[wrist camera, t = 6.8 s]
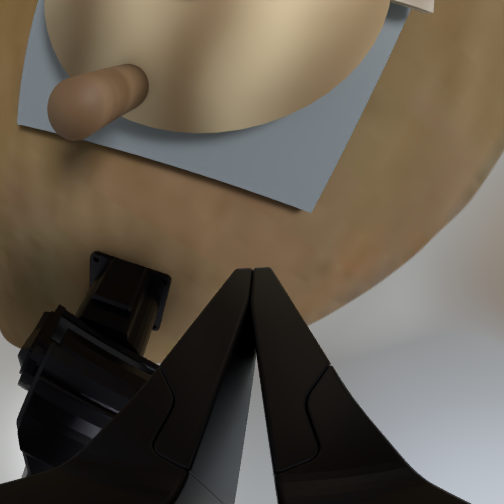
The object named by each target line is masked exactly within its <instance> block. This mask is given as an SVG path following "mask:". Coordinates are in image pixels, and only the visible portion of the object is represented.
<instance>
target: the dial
mask: <svg viewBox="0 0 504 504" xmlns="http://www.w3.org/2000/svg"><path fill="white" fill-rule="evenodd" d="M390 2H392V3H395V4H398V5H402V6H405V7H408V8H411V9H414V10H417V11H420V12H423V13H426V14H428V13H433V9H434V0H44V11H45V20H46V26H47V31H48V35H49V38H50V41H51V44H52V47H53V49H54V51H55V53H56V55H57V58H58V60H59V62H60V63H61V65H62V66H63V68H64V69H65V71H66V72H67V74H68V75H69V77H70V78H67V79H65V80H63V81H61V82H60V83H58V84H57V85H56V86H55V88H54V89H53V90H52V92H51V94H50V96H49V100H48V105H47V114H48V119H49V122H50V124H51V126H52V128H53V129H54V131H55V132H56V133H57V134H58V135H59V136H61V137H62V138H64V139H66V140H70V141H80V140H83V139H85V138H87V137H89V136H90V135H92V134H93V133H95V132H96V131H98V130H99V129H101V128H103V127H104V126H106V125H107V124H109V123H111V122H112V121H114V120H116V119H117V118H119V117H121V116H122V117H124V118H126V119H128V120H130V121H133V122H136V123H139V124H142V125H146V126H149V127H152V128H157V129H163V130H168V131H173V132H186V133H219V132H226V131H234V130H241V129H245V128H249V127H254V126H258V125H262V124H266V123H268V122H271V121H274V120H277V119H279V118H282V117H285V116H288V115H290V114H292V113H294V112H296V111H298V110H300V109H302V108H304V107H306V106H308V105H310V104H311V103H313V102H314V101H316V100H318V99H319V98H321V97H322V96H324V95H326V94H327V93H329V92H330V91H331V90H332V89H333V88H335V87H336V86H337V85H338V84H340V83H341V82H342V81H343V80H344V79H346V78H347V77H348V75H349V74H350V73H351V72H352V71H353V70H354V69H355V68H356V67H357V66H358V65H359V64H360V63H361V62H362V60H363V59H364V57H365V56H366V55H367V53H368V52H369V50H370V49H371V48H372V46H373V45H374V43H375V41H376V39H377V37H378V35H379V33H380V31H381V29H382V27H383V24H384V21H385V18H386V15H387V12H388V9H389V4H390Z"/></svg>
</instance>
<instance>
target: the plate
mask: <svg viewBox="0 0 504 504" xmlns="http://www.w3.org/2000/svg"><path fill="white" fill-rule="evenodd" d="M410 10H411V8H408V7H405V6H402V5H398V4H395V3H392V2H390V4H389V9H388V12H387V15H386V18H385V21H384V24H383V27H382V29H381V31H380V33H379V35H378V37H377V39H376V41H375V43H374V45H373V46H372V48H371V49H370V50H369V52H368V53H367V55H366V56H365V57H364V59H363V60H362V62H361V63H360V64H359V65H358V66H357V67H356V68H355V69H354V70H353V71H352V72H351V73H350V74H349V75H348V77H347V78H346V79H344V80H343V81H342V82H341V83H340V84H338V85H337V86H336V87H335V88H333V89H332V90H331V91H330V92H329V93H327V94H326V95H324V96H322V97H321V98H319V99H318V100H316V101H314V102H313V103H311V104H310V105H308V106H306V107H304V108H302V109H300V110H298V111H296V112H294V113H292V114H290V115H288V116H285V117H282V118H279V119H277V120H274V121H271V122H268V123H266V124H262V125H258V126H254V127H249V128H245V129H241V130H234V131H226V132H219V133H186V132H173V131H168V130H163V129H157V128H152V127H149V126H146V125H142V124H139V123H136V122H133V121H130V120H128V119H126V118H124V117H122V116H121V117H119V118H117V119H116V120H114V121H112V122H111V123H109V124H107V125H106V126H104V127H103V128H101V129H99V130H98V131H96V132H95V133H93V134H92V135H90V136H89V137H87V138H85V139H83V140H84V141H88V142H92V143H96V144H99V145H103V146H107V147H110V148H114V149H117V150H121V151H124V152H128V153H131V154H135V155H138V156H142V157H145V158H149V159H152V160H155V161H159V162H162V163H165V164H168V165H172V166H175V167H178V168H181V169H185V170H188V171H191V172H194V173H197V174H200V175H203V176H206V177H210V178H213V179H216V180H219V181H222V182H225V183H228V184H231V185H234V186H237V187H240V188H243V189H245V190H248V191H251V192H254V193H257V194H260V195H263V196H266V197H268V198H271V199H274V200H277V201H280V202H282V203H285V204H288V205H291V206H294V207H296V208H299V209H302V210H304V211H307V212H310V213H311V212H312V210H313V209H314V207H315V205H316V203H317V201H318V199H319V197H320V195H321V193H322V191H323V189H324V188H325V186H326V184H327V182H328V180H329V178H330V176H331V174H332V172H333V170H334V168H335V166H336V164H337V162H338V160H339V158H340V156H341V154H342V152H343V150H344V148H345V146H346V144H347V142H348V140H349V138H350V136H351V134H352V132H353V130H354V128H355V126H356V124H357V122H358V120H359V118H360V116H361V114H362V112H363V110H364V108H365V106H366V104H367V102H368V100H369V98H370V96H371V94H372V92H373V90H374V87H375V85H376V83H377V81H378V79H379V77H380V75H381V73H382V71H383V69H384V67H385V64H386V62H387V60H388V58H389V56H390V54H391V52H392V49H393V47H394V45H395V43H396V41H397V39H398V36H399V34H400V32H401V30H402V28H403V25H404V23H405V21H406V19H407V17H408V14H409V12H410ZM67 78H70V77H69V75H68V74H67V72H66V71H65V69H64V68H63V66H62V65H61V63H60V62H59V60H58V58H57V55H56V53H55V51H54V49H53V47H52V44H51V41H50V38H49V35H48V31H47V26H46V20H45V11H44V0H38V4H37V7H36V11H35V15H34V19H33V23H32V27H31V31H30V36H29V40H28V45H27V50H26V56H25V61H24V67H23V74H22V81H21V88H20V97H19V107H18V118H17V124H19V125H24V126H28V127H32V128H37V129H41V130H45V131H49V132H53V133H56V132H55V131H54V129H53V128H52V126H51V124H50V122H49V119H48V114H47V105H48V100H49V96H50V94H51V92H52V90H53V89H54V88H55V86H56V85H57V84H58V83H60V82H61V81H63V80H65V79H67Z"/></svg>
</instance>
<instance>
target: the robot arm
mask: <svg viewBox="0 0 504 504" xmlns="http://www.w3.org/2000/svg"><path fill="white" fill-rule="evenodd" d="M96 257H97V258H98V259H97V258H96ZM163 280H165V281H163ZM170 284H171V277H170V276H169V275H167V274H164V273H161V272H158V271H155V270H152V269H149V268H146V267H143V266H140V265H137V264H134V263H131V262H128V261H125V260H122V259H119V258H116V257H113V256H110V255H107V254H104V253H101V252H98V251H95V252H93V254H92V255H91V258H90V289H89V291H88V292H87V294H86V296H85V298H84V300H83V301H82V303H81V305H80V307H79V309H78V311H77V313H76V315H75V316H74V315H73V314H71V313H70V312H68V311H67V310H65V309H66V308H65V307H63V306H62V305H60V304H59V306H58V307H57V309H56V311H55V312H53V311H52V312H44V314H43V316H42V317H41V319H40V321H39V323H38V324H37V326H36V328H35V329H34V331H33V332H32V334H31V335H30V337H29V338H28V339H27V341H26V342H25V344H24V345H23V347H22V348H21V350H20V352H19V354H18V359H19V362H20V365H21V370H20V372H19V373H20V374H22V375H21V377H20V380H19V382H18V385H19V386H21V387H22V388H24V389H25V390H27V391H28V393H27V396H26V398H25V401H24V403H23V405H22V408H21V410H20V413H19V415H18V418H17V429H18V439H19V445H20V450H21V451H22V452H23V456H24V460H25V464H26V466H25V469H24V472H23V475H22V478H21V479H17V480H14V481H10V482H6V483H3V484H0V504H234V503H235V496H236V490H237V484H238V477H239V471H240V464H241V457H242V451H243V444H244V438H245V431H246V424H247V417H248V410H249V404H250V396H251V389H252V383H253V376H254V369H255V360H256V355H257V362H258V370H259V377H260V384H261V391H262V399H263V405H264V413H265V420H266V427H267V434H268V441H269V448H270V455H271V462H272V469H273V476H274V482H275V489H276V496H277V503H278V504H471V503H469V502H467V501H465V500H463V499H461V498H459V497H457V496H455V495H453V494H451V493H449V492H447V491H445V490H443V489H441V488H439V487H437V486H436V485H434V484H432V483H430V482H429V481H427V480H426V479H425V478H423V477H422V476H421V475H420V474H418V473H417V472H416V471H415V470H414V469H413V468H412V467H411V466H410V465H409V464H408V463H407V462H406V461H405V460H404V458H403V457H402V456H401V455H400V454H399V453H398V451H397V450H396V449H395V448H394V447H393V446H392V444H391V443H390V442H389V441H388V440H387V439H386V437H385V436H384V435H383V434H382V433H381V431H380V430H379V429H378V428H377V427H376V425H375V424H374V423H373V422H372V421H371V420H370V418H369V417H368V416H367V415H366V414H365V412H364V411H363V410H362V408H361V407H360V406H359V404H358V403H357V402H356V401H355V399H354V398H353V397H352V395H351V394H350V392H349V391H348V389H347V388H346V387H345V385H344V383H343V382H342V380H341V379H340V377H339V376H338V374H337V372H336V371H335V369H334V368H333V366H330V364H331V363H330V361H329V360H328V358H327V357H326V355H325V353H324V352H323V350H322V349H321V347H320V345H319V344H318V342H317V341H316V339H315V338H314V336H313V334H312V333H311V331H310V330H309V328H308V326H307V325H306V323H305V321H304V320H303V318H302V317H301V315H300V313H299V312H298V310H297V309H296V307H295V305H294V304H293V302H292V301H291V299H290V297H289V296H288V294H287V293H286V291H285V289H284V288H283V286H282V285H281V283H280V282H279V280H278V278H277V277H276V275H275V274H274V272H273V270H272V269H271V268H269V267H264V268H255V269H254V270H252V269H251V268H242V269H236V270H234V272H233V273H232V274H231V275H230V277H229V278H228V279H227V281H226V282H225V283H224V284H223V286H222V287H221V288H220V289H219V291H218V292H217V293H216V294H215V296H214V297H213V298H212V300H211V301H210V302H209V303H208V305H207V306H206V307H205V308H204V310H203V311H202V312H201V313H200V315H199V316H198V317H197V319H196V320H195V321H194V322H193V324H192V325H191V326H190V327H189V329H188V330H187V331H186V332H185V334H184V335H183V336H182V338H181V339H180V340H179V341H178V343H177V344H176V345H175V346H174V348H173V349H172V350H171V352H170V353H169V354H168V355H167V357H166V358H165V359H164V360H163V362H162V363H161V364H160V366H159V365H157V364H155V363H153V362H152V361H150V360H148V359H146V358H144V357H143V356H144V353H145V350H146V347H147V343H148V340H149V337H150V334H151V331H152V330H155V331H156V330H159V328H160V324H161V320H162V316H163V312H164V308H165V304H166V300H167V296H168V292H169V288H170Z"/></svg>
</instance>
